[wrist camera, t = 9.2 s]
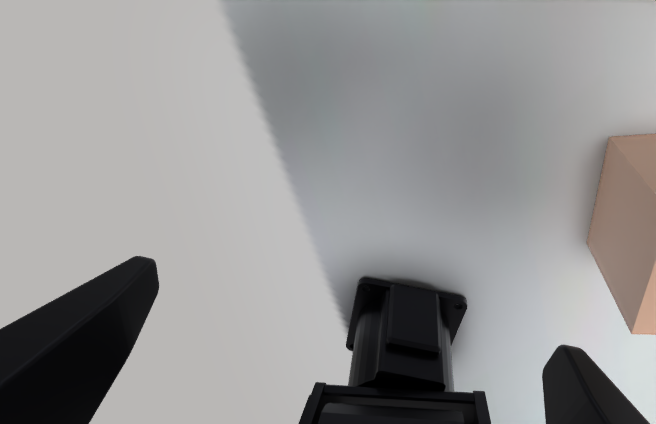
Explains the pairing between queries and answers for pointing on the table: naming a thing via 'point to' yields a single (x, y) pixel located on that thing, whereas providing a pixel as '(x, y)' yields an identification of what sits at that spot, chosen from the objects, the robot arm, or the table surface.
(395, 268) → the table surface
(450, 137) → the table surface
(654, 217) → the clay cube
